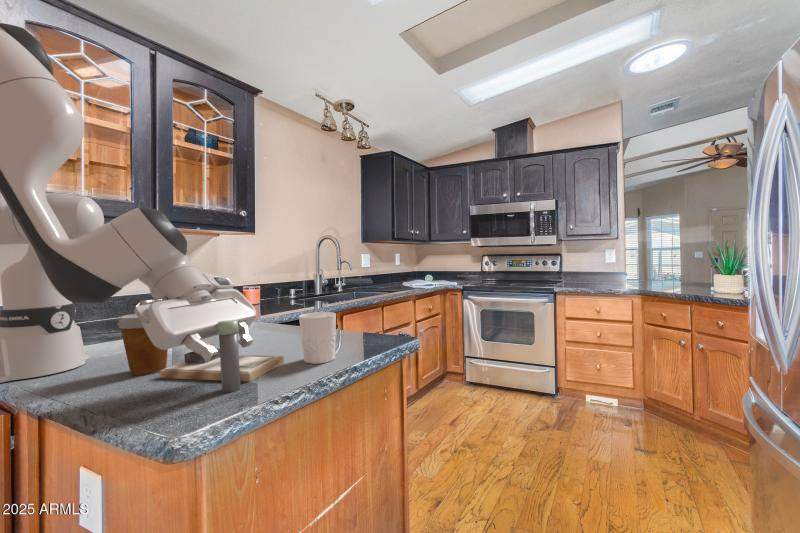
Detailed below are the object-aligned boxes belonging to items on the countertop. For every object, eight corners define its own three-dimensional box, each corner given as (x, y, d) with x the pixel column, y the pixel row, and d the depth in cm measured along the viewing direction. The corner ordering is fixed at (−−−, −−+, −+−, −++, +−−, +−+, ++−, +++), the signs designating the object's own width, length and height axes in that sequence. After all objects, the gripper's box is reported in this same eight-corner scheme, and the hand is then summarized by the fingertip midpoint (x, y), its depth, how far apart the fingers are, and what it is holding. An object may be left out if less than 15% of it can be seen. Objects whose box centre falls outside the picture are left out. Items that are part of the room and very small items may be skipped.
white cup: (329, 365, 78) (327, 317, 77) (294, 364, 79) (292, 317, 79) (342, 355, 85) (340, 311, 85) (310, 354, 87) (308, 311, 87)
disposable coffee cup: (185, 365, 82) (182, 311, 82) (145, 379, 73) (141, 318, 73) (151, 363, 85) (148, 310, 84) (108, 377, 76) (105, 318, 75)
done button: (190, 355, 78) (190, 346, 78) (201, 351, 81) (201, 342, 81) (203, 356, 78) (203, 346, 77) (214, 351, 81) (214, 342, 81)
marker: (217, 392, 64) (213, 323, 64) (229, 385, 67) (225, 319, 67) (233, 393, 64) (229, 323, 63) (245, 386, 67) (241, 319, 66)
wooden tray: (160, 378, 74) (159, 360, 73) (204, 360, 85) (203, 345, 85) (250, 381, 69) (249, 362, 69) (283, 362, 81) (283, 346, 81)
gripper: (137, 288, 57) (189, 354, 54) (236, 278, 77) (278, 326, 74) (119, 316, 59) (168, 382, 56) (220, 299, 78) (261, 348, 75)
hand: (231, 350), depth 65 cm, fingers open, 7 cm apart
